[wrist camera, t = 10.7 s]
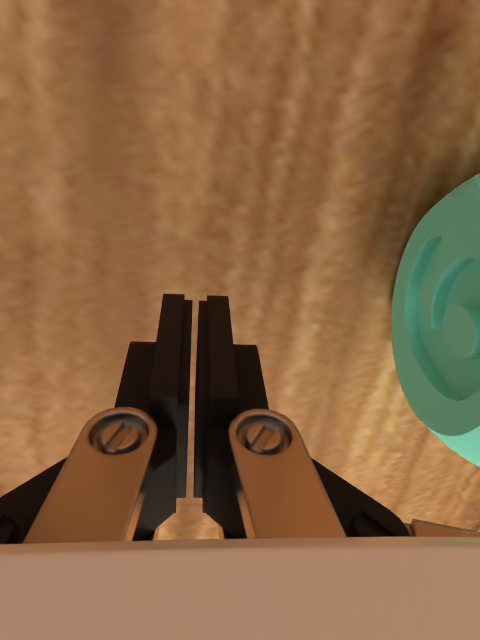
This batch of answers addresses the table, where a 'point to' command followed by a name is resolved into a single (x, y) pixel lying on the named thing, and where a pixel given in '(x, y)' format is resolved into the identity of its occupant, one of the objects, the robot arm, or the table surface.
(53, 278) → the table surface
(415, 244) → the decorative dice
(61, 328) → the table surface
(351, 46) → the table surface
